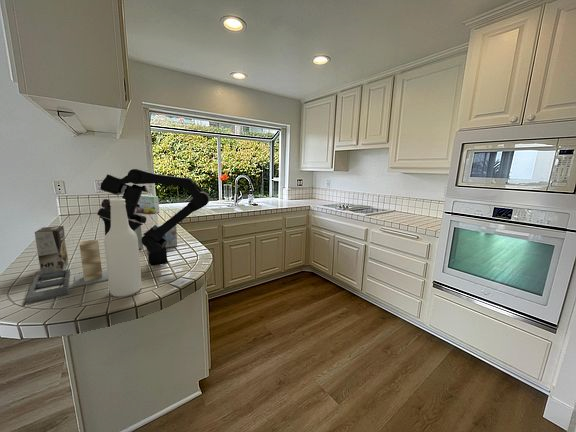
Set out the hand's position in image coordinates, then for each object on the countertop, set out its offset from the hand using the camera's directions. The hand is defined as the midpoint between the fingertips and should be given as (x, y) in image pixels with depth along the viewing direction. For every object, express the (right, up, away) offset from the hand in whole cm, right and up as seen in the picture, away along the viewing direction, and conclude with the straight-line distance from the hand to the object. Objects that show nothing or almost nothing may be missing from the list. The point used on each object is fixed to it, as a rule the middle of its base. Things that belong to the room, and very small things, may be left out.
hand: (116, 237), depth 97 cm
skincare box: (-9, -8, +27) cm, 29 cm away
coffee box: (-23, -13, -1) cm, 26 cm away
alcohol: (+14, -16, -16) cm, 27 cm away
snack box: (-57, +11, +124) cm, 137 cm away
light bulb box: (+4, -7, +31) cm, 32 cm away
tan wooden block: (-3, -14, -8) cm, 16 cm away
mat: (-3, -14, -8) cm, 16 cm away
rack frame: (-11, -15, -15) cm, 24 cm away
